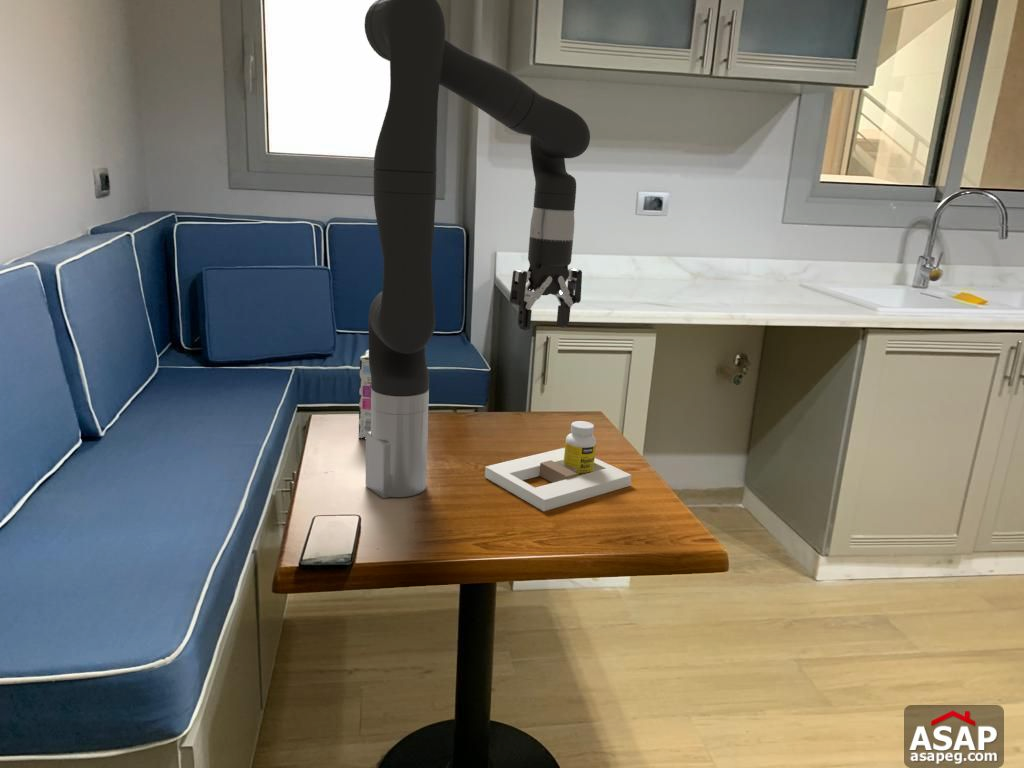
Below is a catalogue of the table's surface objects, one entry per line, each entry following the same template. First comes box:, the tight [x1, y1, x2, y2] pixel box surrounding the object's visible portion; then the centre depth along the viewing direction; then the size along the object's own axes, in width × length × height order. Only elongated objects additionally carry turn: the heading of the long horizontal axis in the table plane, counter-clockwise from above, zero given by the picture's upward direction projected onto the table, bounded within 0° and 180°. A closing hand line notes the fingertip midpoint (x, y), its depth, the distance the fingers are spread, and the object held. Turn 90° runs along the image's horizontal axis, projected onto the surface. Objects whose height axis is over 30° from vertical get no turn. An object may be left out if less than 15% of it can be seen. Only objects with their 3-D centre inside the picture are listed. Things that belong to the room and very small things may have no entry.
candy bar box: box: [358, 348, 371, 439], centre depth 153 cm, size 11×5×16 cm, turn 178°
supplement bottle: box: [563, 420, 597, 476], centre depth 138 cm, size 5×5×10 cm
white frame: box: [484, 447, 632, 512], centre depth 136 cm, size 20×16×2 cm
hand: (543, 328), depth 138 cm, fingers open, 8 cm apart
